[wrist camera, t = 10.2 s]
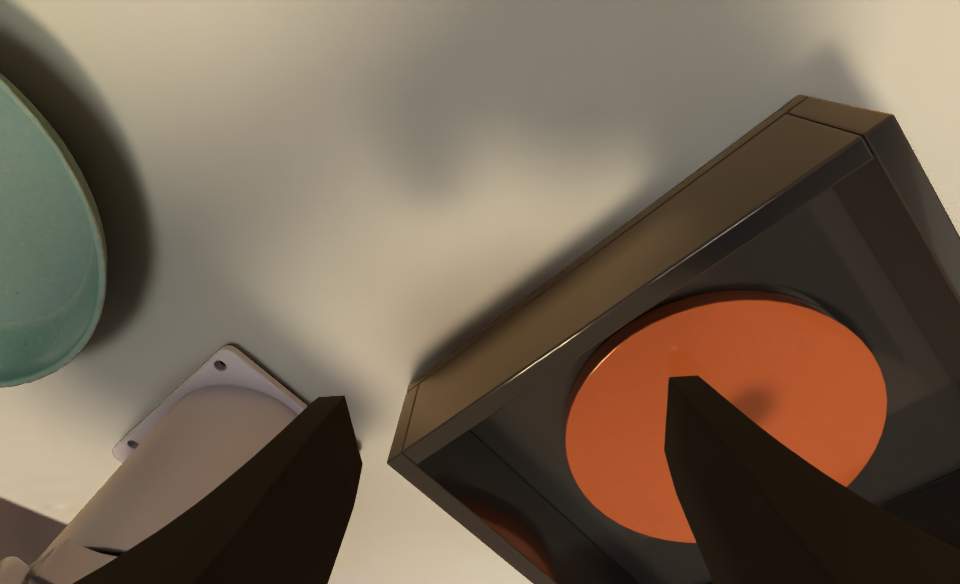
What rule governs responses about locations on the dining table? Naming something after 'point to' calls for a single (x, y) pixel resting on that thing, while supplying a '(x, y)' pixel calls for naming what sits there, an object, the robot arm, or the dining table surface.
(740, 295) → the orange round pegged disc
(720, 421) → the robot arm
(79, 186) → the saucer
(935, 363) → the tray
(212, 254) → the dining table surface
